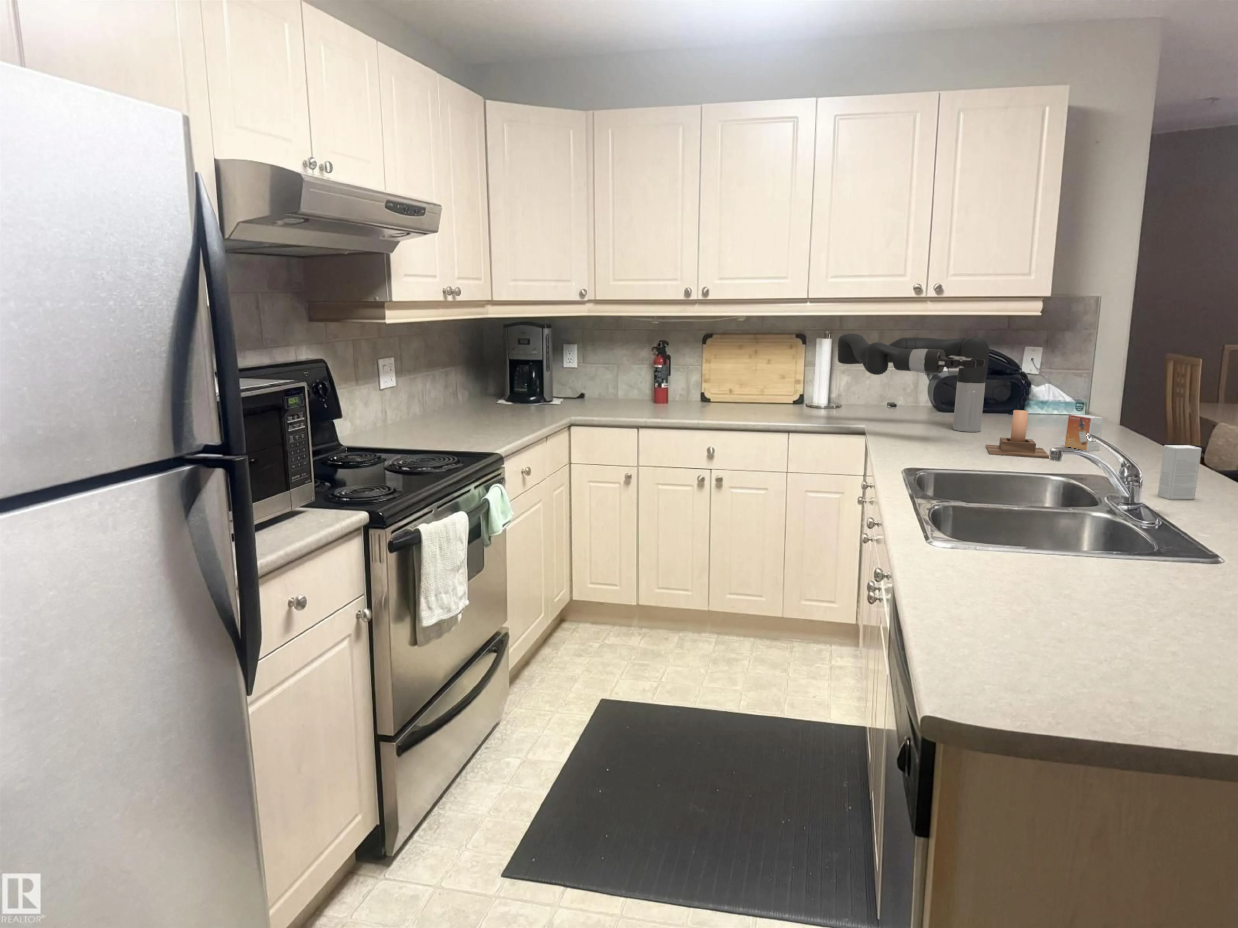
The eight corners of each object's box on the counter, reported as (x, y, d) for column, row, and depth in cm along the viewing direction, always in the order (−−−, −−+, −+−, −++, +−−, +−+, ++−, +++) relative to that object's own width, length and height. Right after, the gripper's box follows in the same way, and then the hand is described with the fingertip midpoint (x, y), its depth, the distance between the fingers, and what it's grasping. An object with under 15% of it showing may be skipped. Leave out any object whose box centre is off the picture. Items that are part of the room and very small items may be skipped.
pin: (1008, 448, 245) (1012, 409, 243) (1023, 449, 243) (1027, 410, 241) (1009, 450, 241) (1014, 411, 239) (1024, 451, 240) (1029, 412, 237)
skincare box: (1181, 495, 186) (1189, 445, 184) (1194, 499, 182) (1203, 448, 180) (1155, 495, 186) (1163, 444, 184) (1168, 499, 182) (1176, 447, 180)
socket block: (985, 446, 252) (986, 435, 252) (1042, 450, 247) (1043, 438, 246) (989, 454, 238) (990, 442, 237) (1049, 458, 232) (1051, 446, 232)
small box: (1063, 447, 253) (1067, 414, 251) (1076, 446, 255) (1081, 413, 253) (1086, 451, 246) (1090, 417, 244) (1099, 450, 248) (1104, 417, 246)
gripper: (933, 371, 262) (986, 374, 252) (917, 373, 251) (971, 377, 241) (936, 348, 261) (988, 350, 250) (919, 349, 250) (973, 352, 240)
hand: (980, 363), depth 246 cm, fingers open, 8 cm apart
